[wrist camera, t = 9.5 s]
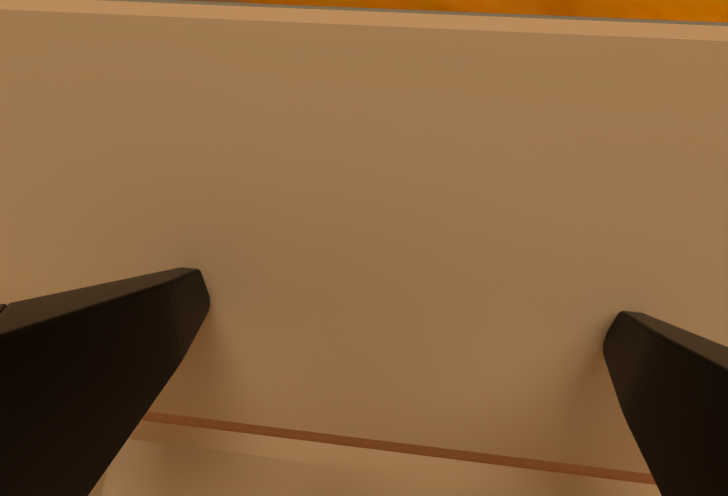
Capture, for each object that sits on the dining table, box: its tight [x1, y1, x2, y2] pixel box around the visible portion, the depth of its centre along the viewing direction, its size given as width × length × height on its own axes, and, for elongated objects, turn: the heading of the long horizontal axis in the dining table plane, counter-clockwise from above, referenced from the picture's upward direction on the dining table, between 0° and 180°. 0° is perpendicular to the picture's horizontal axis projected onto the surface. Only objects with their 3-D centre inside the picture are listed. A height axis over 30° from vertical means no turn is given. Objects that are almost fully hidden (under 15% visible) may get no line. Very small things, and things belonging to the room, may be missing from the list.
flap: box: [0, 0, 728, 474], centre depth 10 cm, size 12×21×1 cm
